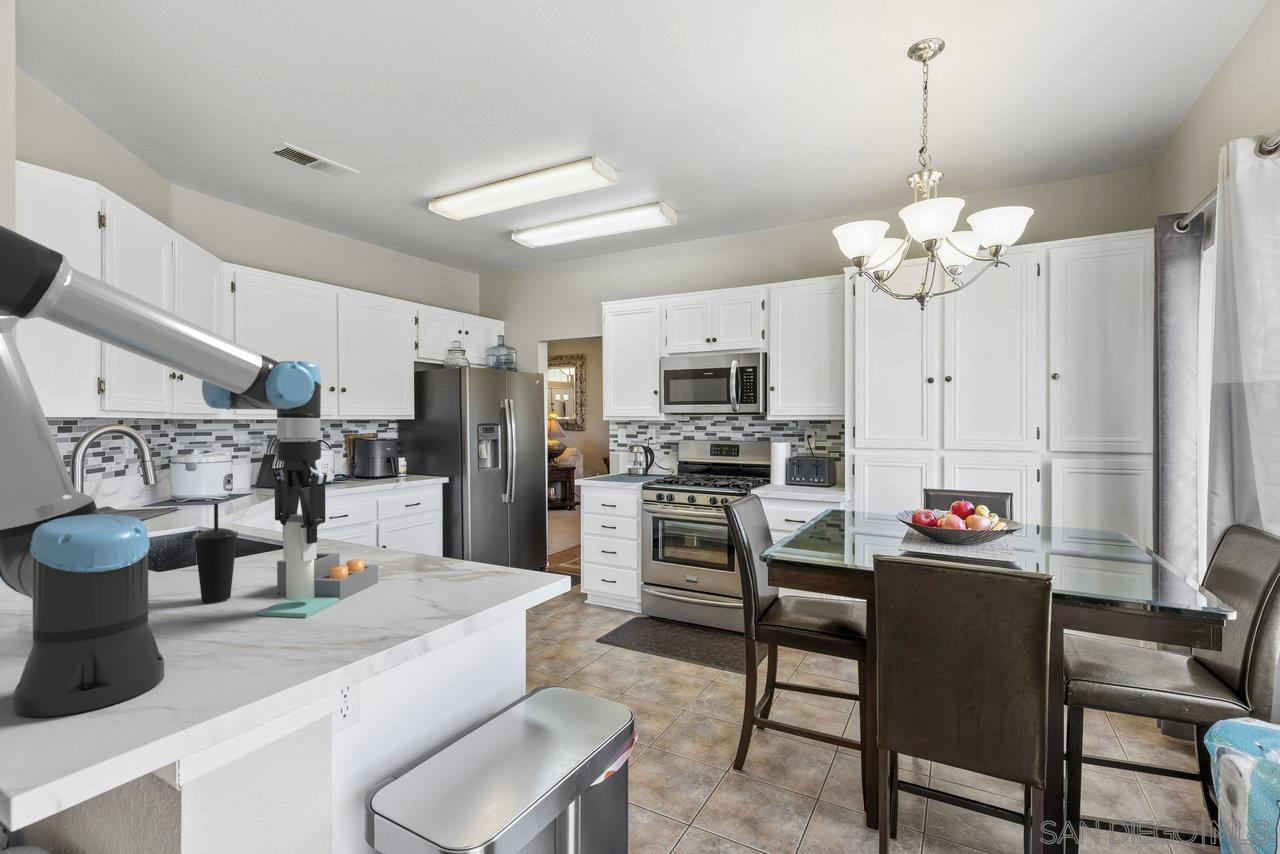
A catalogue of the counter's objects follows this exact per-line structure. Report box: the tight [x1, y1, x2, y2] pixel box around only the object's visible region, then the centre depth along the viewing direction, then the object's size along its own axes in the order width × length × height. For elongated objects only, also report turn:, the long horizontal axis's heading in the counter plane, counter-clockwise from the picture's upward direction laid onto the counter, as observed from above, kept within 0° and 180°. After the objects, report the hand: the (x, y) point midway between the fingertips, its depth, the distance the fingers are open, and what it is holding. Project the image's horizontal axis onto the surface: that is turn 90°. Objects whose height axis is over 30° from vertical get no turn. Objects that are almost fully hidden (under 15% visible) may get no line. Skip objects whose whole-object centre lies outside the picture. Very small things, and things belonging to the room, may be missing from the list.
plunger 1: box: [329, 565, 348, 579], centre depth 128 cm, size 4×4×5 cm
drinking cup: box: [192, 502, 239, 604], centre depth 123 cm, size 8×8×20 cm
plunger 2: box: [345, 559, 365, 572], centre depth 134 cm, size 4×4×5 cm
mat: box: [257, 597, 340, 619], centre depth 118 cm, size 10×10×1 cm
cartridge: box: [285, 513, 314, 601], centre depth 118 cm, size 5×5×16 cm
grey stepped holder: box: [276, 552, 379, 601], centre depth 131 cm, size 14×16×7 cm
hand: (299, 558), depth 118 cm, fingers closed on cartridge, 5 cm apart
